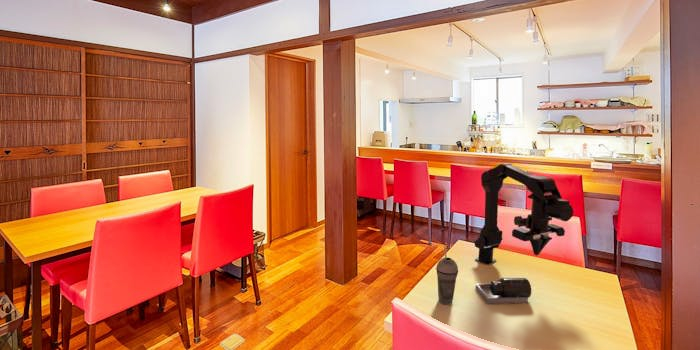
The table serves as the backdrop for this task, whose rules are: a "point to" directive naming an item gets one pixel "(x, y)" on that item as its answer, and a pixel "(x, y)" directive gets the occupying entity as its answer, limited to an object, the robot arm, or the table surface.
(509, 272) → the table surface
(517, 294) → the supplement bottle
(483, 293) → the tray
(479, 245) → the robot arm
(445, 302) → the beverage cup
